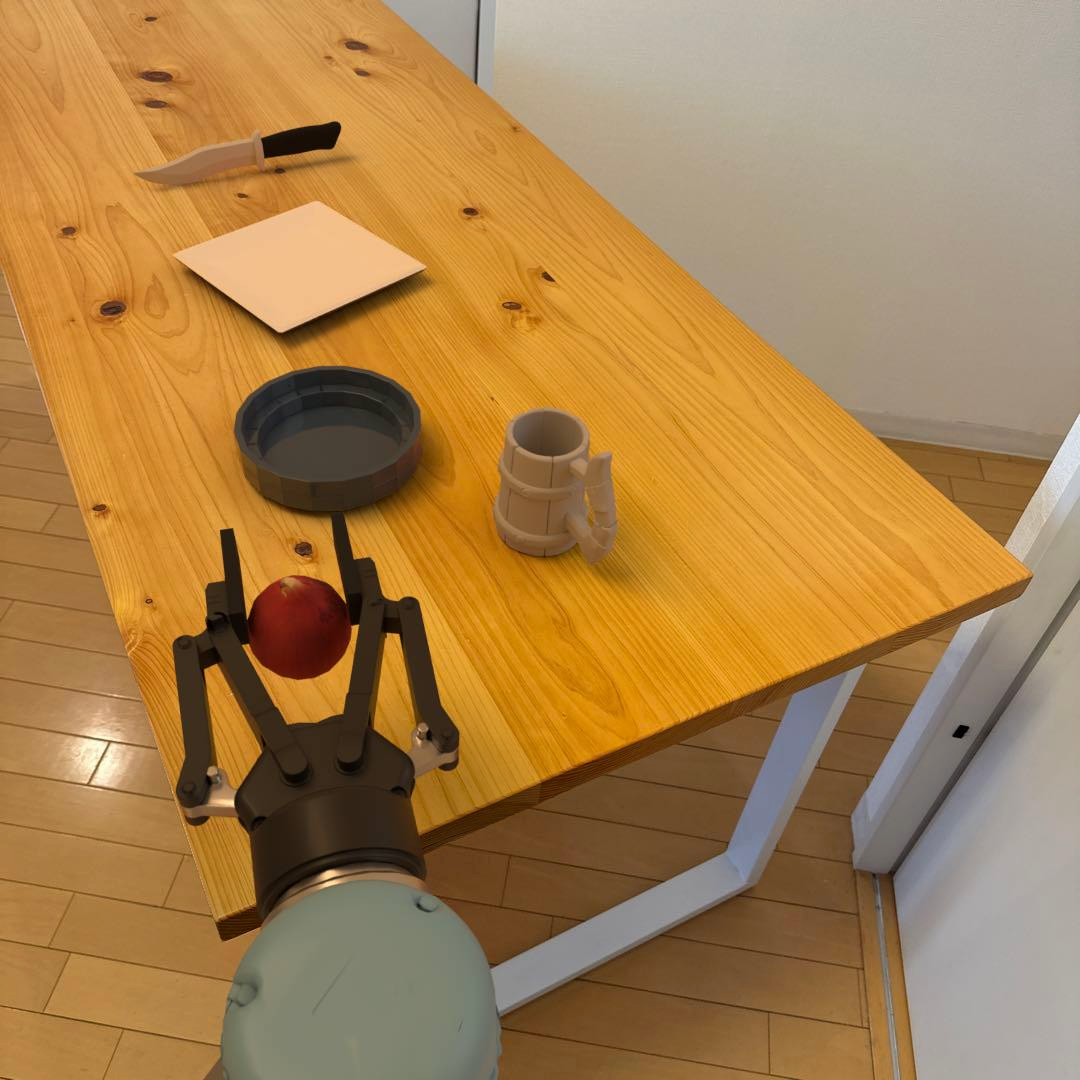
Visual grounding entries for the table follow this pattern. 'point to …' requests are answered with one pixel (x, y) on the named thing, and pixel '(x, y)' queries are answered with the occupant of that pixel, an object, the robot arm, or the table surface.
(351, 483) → the bowl
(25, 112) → the table surface
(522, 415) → the mug
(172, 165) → the knife
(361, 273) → the plate
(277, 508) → the table surface
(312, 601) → the onion
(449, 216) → the table surface
